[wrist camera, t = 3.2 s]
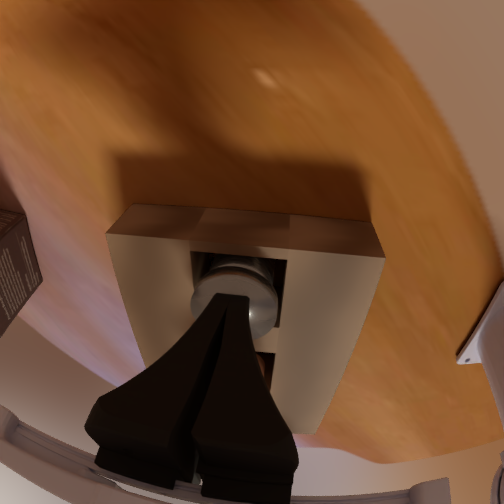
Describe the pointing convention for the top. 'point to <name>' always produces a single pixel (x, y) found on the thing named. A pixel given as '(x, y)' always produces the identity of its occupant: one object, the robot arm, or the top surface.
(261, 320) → the plug metal
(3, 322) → the box
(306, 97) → the top surface
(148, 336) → the socket board
